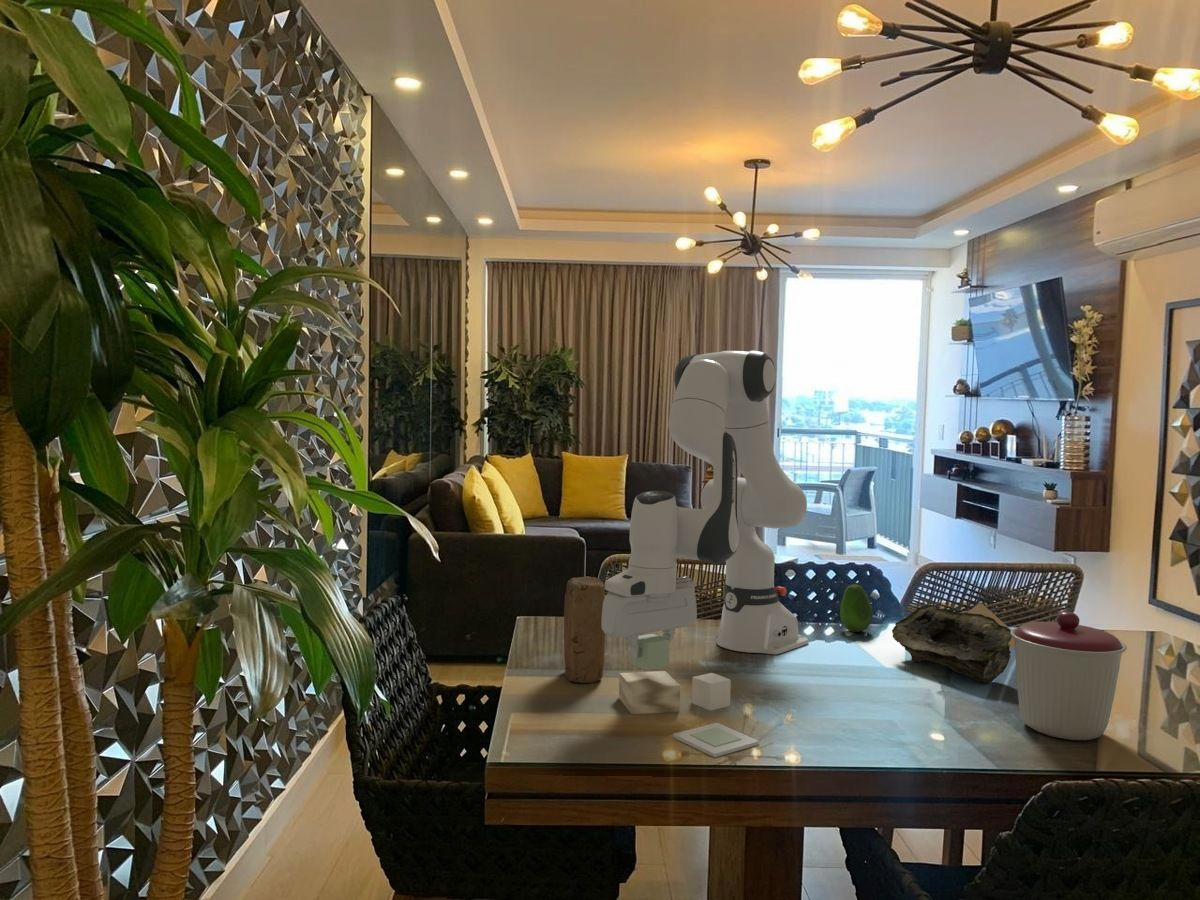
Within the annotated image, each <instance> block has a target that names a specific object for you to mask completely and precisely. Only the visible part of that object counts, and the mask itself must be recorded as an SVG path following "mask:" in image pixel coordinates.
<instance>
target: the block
mask: <svg viewBox="0 0 1200 900" xmlns="http://www.w3.org/2000/svg"><path fill="white" fill-rule="evenodd" d="M605 591H606V589H605V583H603V582H602V580H601V579H600V578H597V577H595V576H579V577H571V578H570V579H569V580H568V581H567V584H566V589H565V595H564V604H563V605H564V607H563V609H564V610H563V611H564V612H563V652H564V653H563V655H564V665H565V667H564V673H565V677H566V678H567V679H568V681H570V682H574V683H581V684H589V683H590V684H591V683H595V682H598V681H600V680H602V678H603V677H604V669H605V668H604V666H605V653H606V652H605V651H606V647H605V646H606V645H605V644H606V634H605V633H604V631H603V630H602V626H601V622H602V608H603V601H604V598H605V596H606V593H605Z"/></svg>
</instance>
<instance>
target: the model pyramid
mask: <svg viewBox="0 0 1200 900" xmlns="http://www.w3.org/2000/svg"><path fill="white" fill-rule="evenodd" d="M966 613H971V614H981V615H984V616H986V617H989V616H990V618H993V619H995V621H996V622H997V623H998V624H999V625H1001V626H1005V627H1007V628H1008V629H1010V630H1012V628H1010V627H1009V626H1008V625H1007V624H1006V623H1005V622H1004V621H1002V620H1001V619H1000V618H999V617H998V616H997V615H996V614H994V613H993V612H992V611H991V610H990V609H989V608H987V606H985V604H984V603H982V602H981V601H980V602H979V603H978V604H976V605H975V606H973V607H972V608H971V609H970V610H968V611H967V612H966ZM1008 644H1009V645H1008V646H1010V647H1009V650H1010V649H1013V648H1014V649H1015V643H1014V638H1013V637H1012V638H1011V641H1010V642H1009V643H1008Z"/></svg>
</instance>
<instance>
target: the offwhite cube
mask: <svg viewBox="0 0 1200 900" xmlns="http://www.w3.org/2000/svg"><path fill="white" fill-rule="evenodd" d="M731 682H732V681H731V679H730V678H727V677H724V676H722V675H719V674H717V673H714V672H709V673H706V674H705V673H704V674H701V675H696V676H695V675H694V676H692V681H691V683H692V684H691V704H693V705H696V706H697V707H698V706H699V707H701V708H703V709H705V710H707V711H714V710H718V709H722V708H727V707H730V706H731V687H732V683H731Z"/></svg>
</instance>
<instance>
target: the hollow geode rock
mask: <svg viewBox="0 0 1200 900" xmlns="http://www.w3.org/2000/svg"><path fill="white" fill-rule="evenodd" d="M894 624H895V625H894V626H893V629H891V633H892V638H893V639H894V641H896V643H898V644H900V645H901V646H902V647H903V648H904V651H906V652H908V653H909V655H910V656H911V661H912V662H913V663H921V662H923V661H925V662H926V661H930V662H933V663H936V664H940V665H942V666H947V667H949V668H950V669H951V670H952V671H953V672H955V673H957V674H960V675H962V676H963V675H964V676H966V678H967V677H968V678H972V679H973V680H974V681H977V682H981V683H983V684H986V685H989V684H991V683H992V682H994V680H996V679H997V677H999V676H1000V675H1001V674H1002V673H1004V671H1005V669H1006V668H1007V667H1008V664H1009V662H1010V659H1011V653H1012V651H1010V649H1009V647H1010V646H1008V645H1009V644H1008V643H1009V642H1010V641H1011V638H1012V636H1011V634H1010V631H1011V630H1012V629H1011V628H1010V629H1011V630H1010V629H1008V628H1007V627H1005V626H1001V625H999V624H998V623H997V622H996V621H995V619H993V618H990V616H989V617H986V616H984V615H981V614H971V613H967V612H957V611H953V610H951V609H947V608H939V606H938V605H937V604H929V605H922V606H919V607H917V609H916V610H914V611H913V612H912V613H910V614H909V615H908V616H907V617H905V618H903V619H900V620H898V621H897V622H895V623H894Z"/></svg>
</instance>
